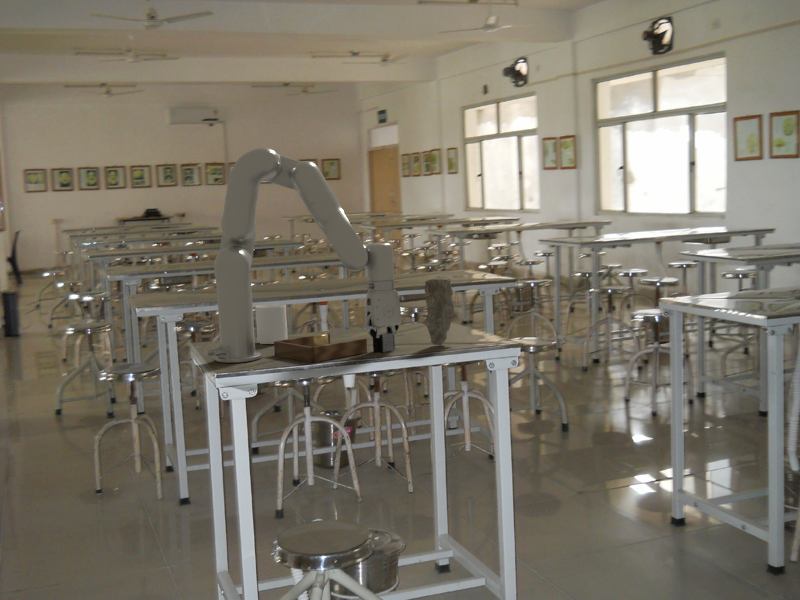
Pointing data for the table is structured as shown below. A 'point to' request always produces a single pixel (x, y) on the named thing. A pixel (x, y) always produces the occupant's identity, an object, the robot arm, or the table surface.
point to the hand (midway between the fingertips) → (384, 349)
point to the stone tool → (439, 309)
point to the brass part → (320, 339)
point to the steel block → (387, 341)
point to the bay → (318, 349)
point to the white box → (271, 323)
